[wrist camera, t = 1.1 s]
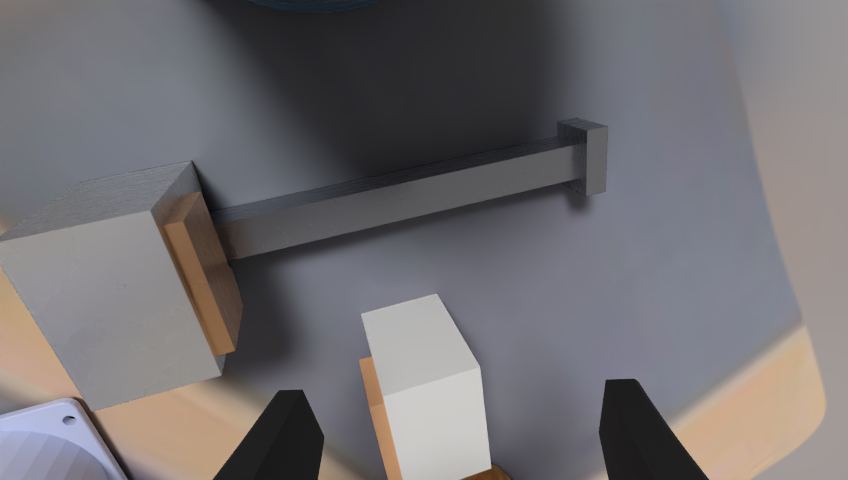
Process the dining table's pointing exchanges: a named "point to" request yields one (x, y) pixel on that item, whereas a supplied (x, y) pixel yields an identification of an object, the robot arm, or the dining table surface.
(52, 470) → the robot arm
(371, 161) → the dining table surface
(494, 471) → the pastry
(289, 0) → the canister
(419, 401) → the white cube orange side
